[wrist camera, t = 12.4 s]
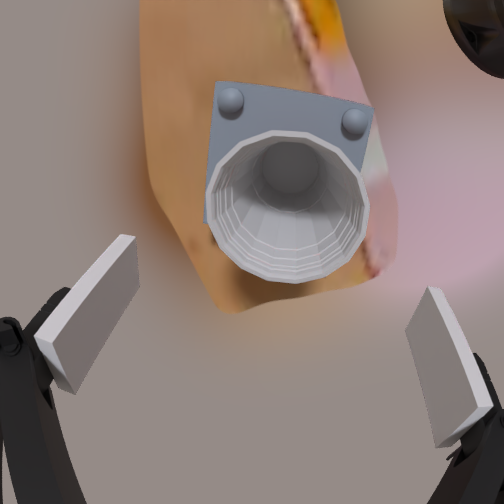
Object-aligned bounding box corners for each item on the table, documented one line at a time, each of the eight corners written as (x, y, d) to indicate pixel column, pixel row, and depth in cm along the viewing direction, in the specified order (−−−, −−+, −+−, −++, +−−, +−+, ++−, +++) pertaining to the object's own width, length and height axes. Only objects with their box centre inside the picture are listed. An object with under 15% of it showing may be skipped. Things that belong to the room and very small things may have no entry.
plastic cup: (244, 100, 28) (216, 113, 18) (356, 128, 28) (393, 159, 18) (223, 204, 34) (193, 266, 23) (325, 228, 34) (338, 299, 23)
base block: (363, 104, 31) (376, 109, 26) (335, 226, 39) (341, 249, 34) (225, 81, 32) (213, 81, 27) (213, 205, 39) (201, 226, 34)
